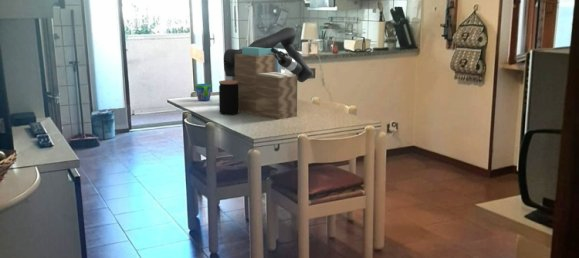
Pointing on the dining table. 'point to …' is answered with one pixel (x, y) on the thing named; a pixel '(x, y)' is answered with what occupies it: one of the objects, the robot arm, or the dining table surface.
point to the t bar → (257, 51)
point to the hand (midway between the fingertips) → (269, 48)
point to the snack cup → (203, 91)
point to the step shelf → (265, 87)
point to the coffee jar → (228, 97)
